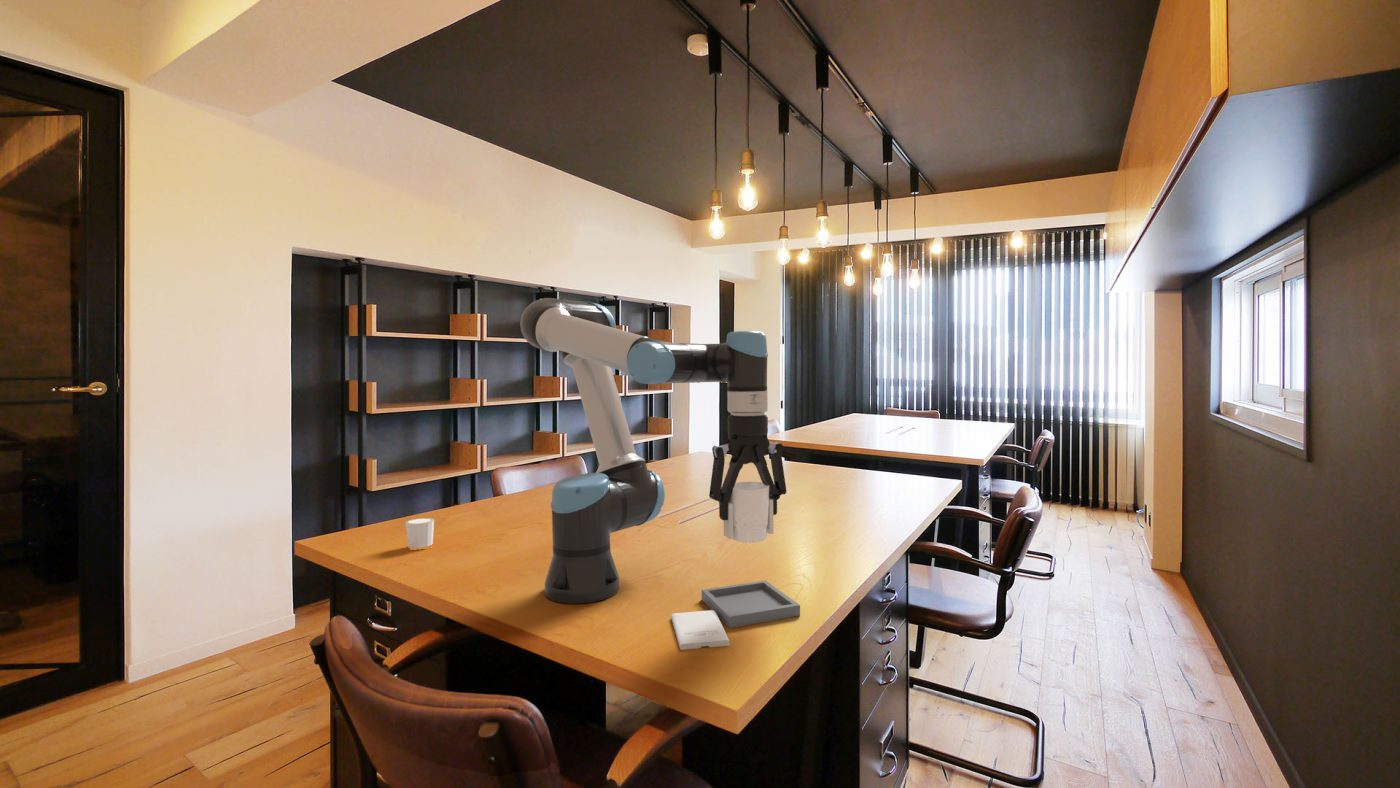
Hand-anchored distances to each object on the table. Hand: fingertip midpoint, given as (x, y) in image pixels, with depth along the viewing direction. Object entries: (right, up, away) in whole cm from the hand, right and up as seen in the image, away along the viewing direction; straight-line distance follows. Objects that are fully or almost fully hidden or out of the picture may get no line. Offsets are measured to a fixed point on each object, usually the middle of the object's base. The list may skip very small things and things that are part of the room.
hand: (748, 534), depth 114 cm
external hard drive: (-9, -15, -10) cm, 20 cm away
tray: (0, -14, +1) cm, 14 cm away
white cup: (0, -1, 0) cm, 1 cm away
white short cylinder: (-82, -13, +43) cm, 93 cm away
